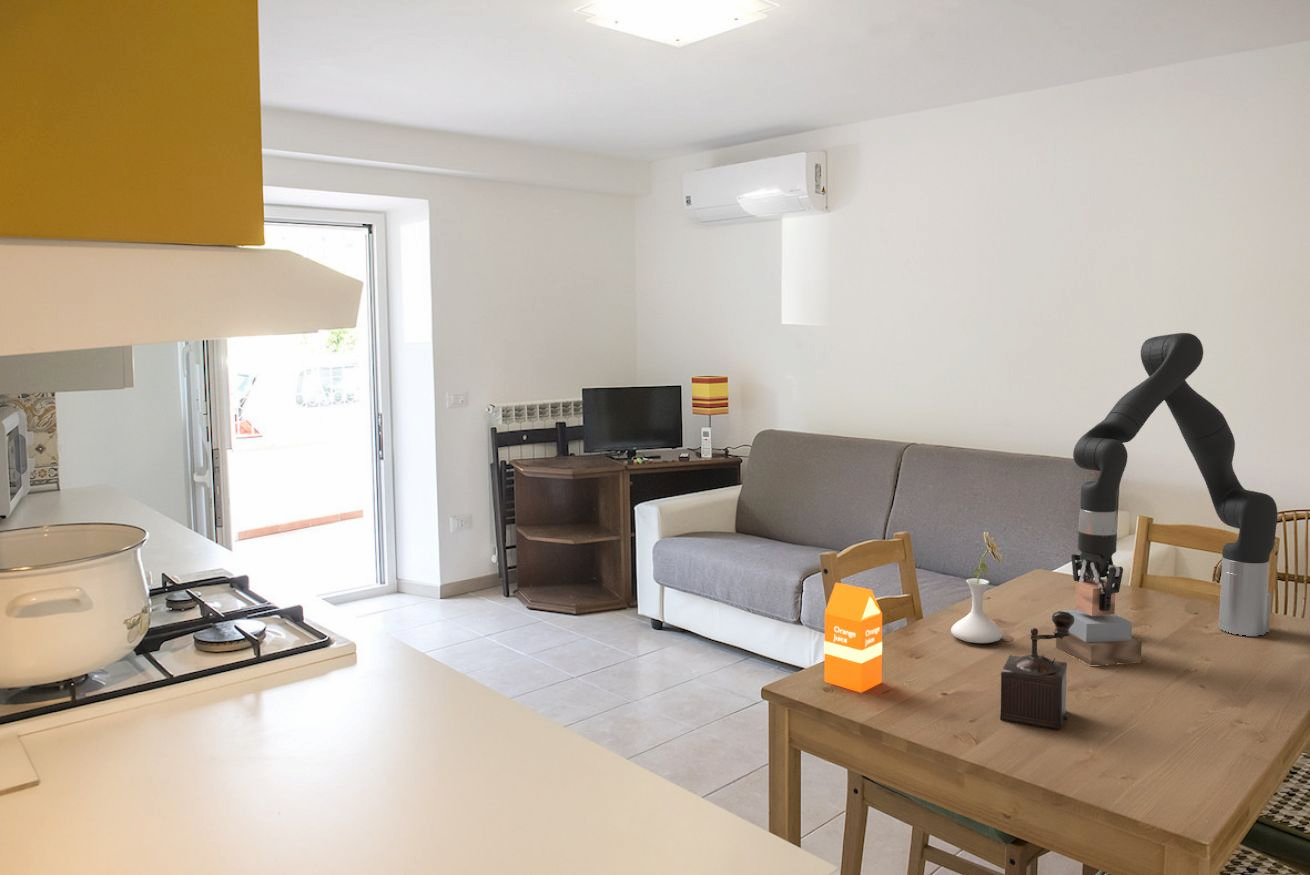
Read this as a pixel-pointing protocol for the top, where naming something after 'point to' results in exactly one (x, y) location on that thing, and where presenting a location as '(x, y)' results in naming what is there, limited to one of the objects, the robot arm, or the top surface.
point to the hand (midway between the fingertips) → (1094, 606)
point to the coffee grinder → (1036, 683)
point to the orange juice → (853, 638)
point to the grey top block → (1100, 627)
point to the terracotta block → (1091, 599)
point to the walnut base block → (1101, 650)
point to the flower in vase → (979, 606)
